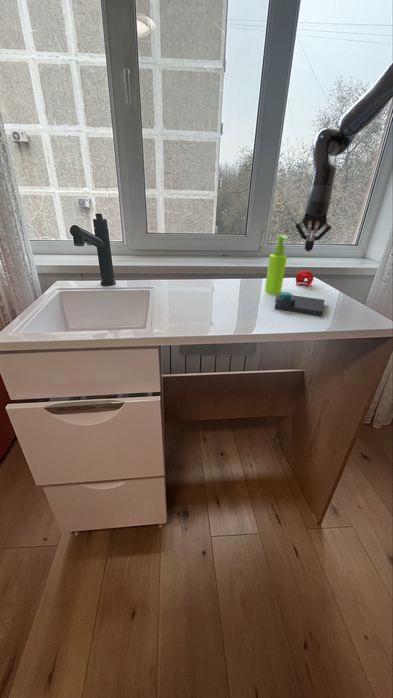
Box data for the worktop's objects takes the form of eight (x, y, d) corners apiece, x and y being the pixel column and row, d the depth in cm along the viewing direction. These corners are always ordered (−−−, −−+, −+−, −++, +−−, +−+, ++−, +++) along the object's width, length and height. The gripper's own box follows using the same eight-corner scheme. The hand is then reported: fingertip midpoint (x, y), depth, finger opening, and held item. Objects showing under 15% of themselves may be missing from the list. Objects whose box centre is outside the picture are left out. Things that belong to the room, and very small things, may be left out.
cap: (292, 282, 119) (294, 267, 116) (306, 282, 119) (309, 267, 116) (298, 287, 112) (301, 272, 109) (313, 288, 112) (317, 272, 109)
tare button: (291, 298, 91) (292, 292, 91) (289, 300, 89) (290, 295, 88) (281, 296, 92) (282, 291, 92) (279, 299, 90) (280, 294, 89)
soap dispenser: (268, 294, 104) (276, 236, 94) (262, 289, 110) (270, 233, 100) (283, 294, 104) (294, 236, 94) (277, 289, 110) (286, 233, 100)
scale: (323, 304, 96) (326, 294, 94) (321, 317, 86) (323, 306, 84) (279, 298, 101) (281, 288, 99) (272, 309, 91) (274, 298, 89)
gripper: (298, 199, 100) (288, 251, 108) (339, 200, 95) (326, 254, 104) (300, 199, 106) (291, 248, 114) (339, 200, 101) (326, 251, 110)
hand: (308, 251), depth 109 cm, fingers closed
